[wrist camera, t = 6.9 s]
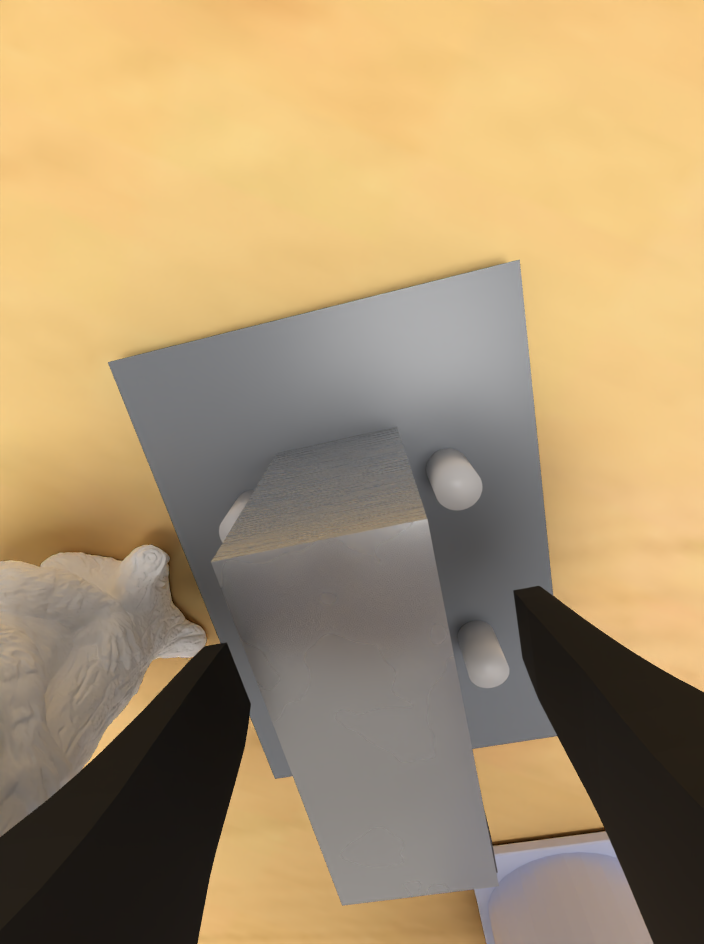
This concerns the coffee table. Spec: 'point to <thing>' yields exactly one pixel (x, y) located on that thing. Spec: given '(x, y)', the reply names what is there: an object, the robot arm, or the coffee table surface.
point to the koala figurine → (76, 661)
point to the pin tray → (362, 411)
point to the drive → (360, 667)
